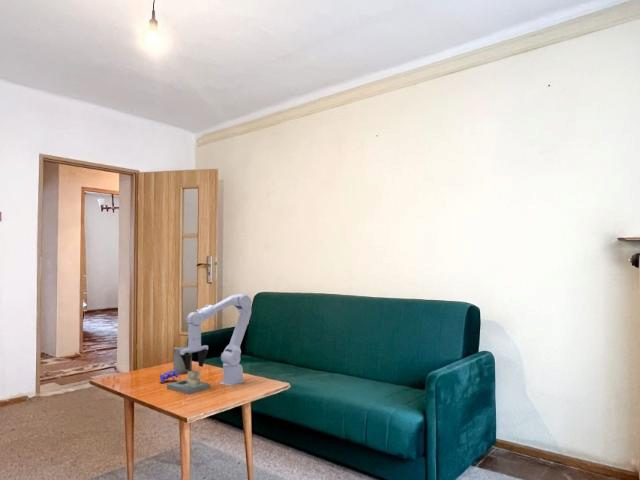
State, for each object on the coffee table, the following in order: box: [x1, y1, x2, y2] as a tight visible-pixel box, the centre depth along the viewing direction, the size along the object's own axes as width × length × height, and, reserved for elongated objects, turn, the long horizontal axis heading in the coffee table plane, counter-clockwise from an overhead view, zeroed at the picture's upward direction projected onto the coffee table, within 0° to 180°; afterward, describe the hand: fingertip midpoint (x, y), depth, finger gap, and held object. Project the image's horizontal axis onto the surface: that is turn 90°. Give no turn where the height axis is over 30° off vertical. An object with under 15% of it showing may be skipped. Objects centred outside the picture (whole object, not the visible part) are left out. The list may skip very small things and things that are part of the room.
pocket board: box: [166, 378, 211, 395], centre depth 200 cm, size 12×16×3 cm
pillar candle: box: [173, 345, 193, 376], centre depth 233 cm, size 10×10×15 cm
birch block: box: [187, 369, 201, 386], centre depth 198 cm, size 4×4×6 cm
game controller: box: [159, 368, 181, 384], centre depth 212 cm, size 10×8×10 cm
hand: (194, 367), depth 198 cm, fingers open, 7 cm apart
